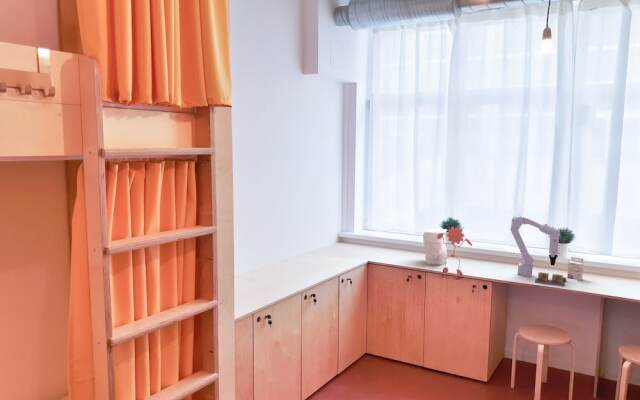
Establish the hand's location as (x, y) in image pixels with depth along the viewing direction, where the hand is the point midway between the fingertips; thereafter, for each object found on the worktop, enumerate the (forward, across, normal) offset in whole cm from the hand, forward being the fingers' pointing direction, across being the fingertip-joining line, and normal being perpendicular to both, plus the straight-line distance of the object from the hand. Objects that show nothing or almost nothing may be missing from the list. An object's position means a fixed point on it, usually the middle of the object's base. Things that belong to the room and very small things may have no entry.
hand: (552, 265), depth 340 cm
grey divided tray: (+9, -18, 0) cm, 20 cm away
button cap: (+8, -7, -7) cm, 13 cm away
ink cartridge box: (+10, +8, -14) cm, 19 cm away
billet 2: (+8, -18, -4) cm, 20 cm away
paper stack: (+10, 0, +85) cm, 86 cm away
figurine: (+10, -29, +61) cm, 68 cm away
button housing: (+9, -8, -6) cm, 14 cm away
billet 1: (+8, -18, +4) cm, 20 cm away
